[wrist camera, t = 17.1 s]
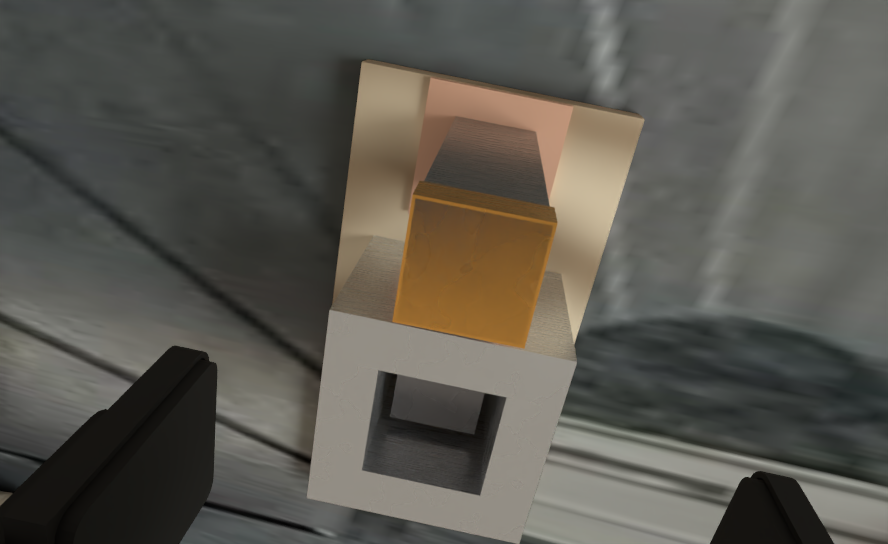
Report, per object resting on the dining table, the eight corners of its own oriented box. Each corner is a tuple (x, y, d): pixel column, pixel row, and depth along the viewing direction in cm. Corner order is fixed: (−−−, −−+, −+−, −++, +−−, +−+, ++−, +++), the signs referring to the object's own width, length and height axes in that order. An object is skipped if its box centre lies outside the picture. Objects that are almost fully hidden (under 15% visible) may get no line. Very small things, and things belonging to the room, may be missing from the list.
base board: (513, 520, 43) (514, 537, 42) (315, 477, 43) (309, 492, 42) (638, 114, 31) (644, 119, 30) (368, 59, 32) (361, 61, 30)
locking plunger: (475, 420, 33) (474, 434, 32) (393, 402, 33) (390, 416, 32) (493, 350, 31) (492, 362, 30) (406, 331, 31) (403, 343, 30)
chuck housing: (517, 426, 38) (518, 544, 30) (351, 391, 38) (306, 498, 30) (561, 274, 34) (577, 362, 26) (373, 235, 34) (329, 309, 26)
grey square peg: (519, 210, 32) (524, 348, 19) (439, 194, 32) (392, 321, 19) (538, 130, 30) (557, 223, 18) (454, 113, 31) (412, 194, 18)
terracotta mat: (538, 238, 33) (538, 240, 33) (409, 211, 33) (407, 213, 33) (572, 105, 30) (573, 106, 30) (431, 76, 30) (430, 77, 30)
